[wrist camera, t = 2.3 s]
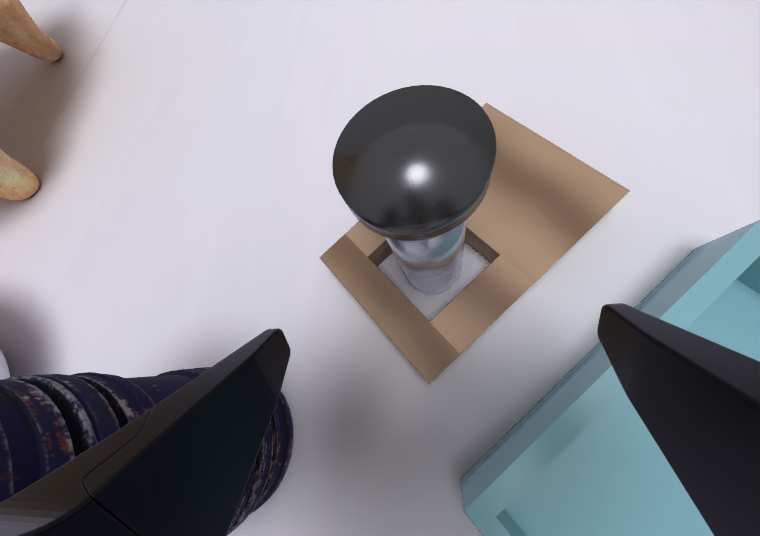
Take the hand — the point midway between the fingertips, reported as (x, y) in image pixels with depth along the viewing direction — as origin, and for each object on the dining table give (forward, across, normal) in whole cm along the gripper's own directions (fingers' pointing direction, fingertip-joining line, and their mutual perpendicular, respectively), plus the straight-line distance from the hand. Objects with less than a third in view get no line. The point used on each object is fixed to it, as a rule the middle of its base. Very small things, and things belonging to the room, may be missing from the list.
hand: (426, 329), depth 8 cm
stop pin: (+12, 0, +5) cm, 13 cm away
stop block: (+14, -2, +4) cm, 14 cm away
